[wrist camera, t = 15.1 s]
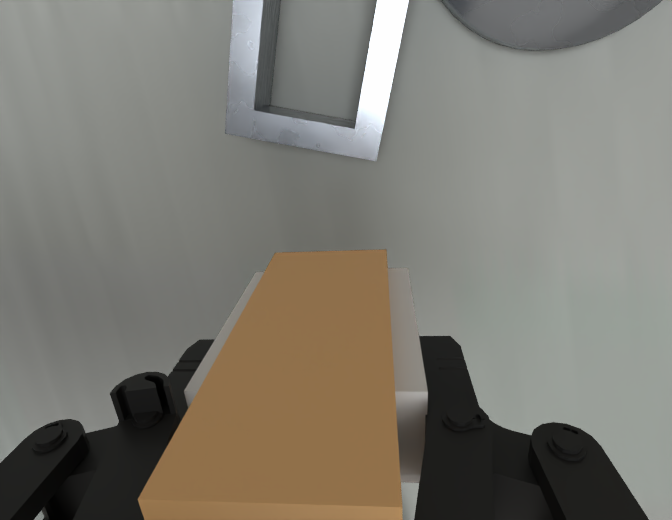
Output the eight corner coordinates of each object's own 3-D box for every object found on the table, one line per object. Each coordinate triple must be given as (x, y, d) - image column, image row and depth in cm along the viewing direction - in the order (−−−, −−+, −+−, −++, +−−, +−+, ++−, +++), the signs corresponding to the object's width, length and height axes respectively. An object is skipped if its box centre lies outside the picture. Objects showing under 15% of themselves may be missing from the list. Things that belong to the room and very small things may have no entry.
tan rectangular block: (287, 346, 17) (188, 650, 8) (274, 252, 16) (137, 499, 7) (388, 345, 17) (403, 664, 8) (386, 249, 15) (401, 507, 6)
